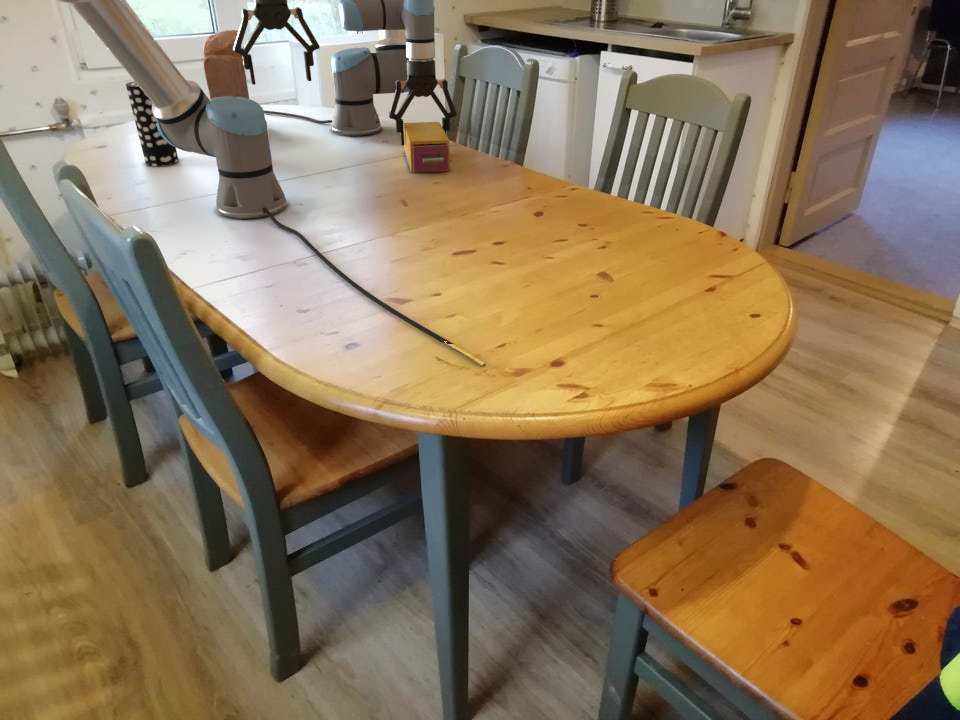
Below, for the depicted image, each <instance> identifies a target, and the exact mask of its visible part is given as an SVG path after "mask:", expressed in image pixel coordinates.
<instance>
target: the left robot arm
mask: <svg viewBox="0 0 960 720" xmlns="http://www.w3.org/2000/svg"><path fill="white" fill-rule="evenodd" d="M56 1H57V2H60V3H61V2H62V3H67V4H69V5H71V6H72V8H73V9H74V10H75V11H76V13H77V14H78V15H79V16H80V17H81V18H82V20H83V21H84V22H85V23H86V25H87V26H88V27H89V28H90V30H91V31H92V32H93V33H94V34H95V36H96V37H97V38H98V39H99V40H100V42H102V44H103V45H104V46H105V47H106V49H107V50H108V51H109V52H110V53H111V55H112V56H113V57H114V58H115V59H116V60H117V62H118V63H119V64H120V65H121V67H122V68H123V69H124V70H125V71H126V72H127V74H128V75H129V76H130V78H131V79H132V80H133V82H134V81H135V82H136V83H137V84H138V86H139V87H140V88H141V89H142V90H143V92H144V93H145V94H146V95H147V96H148V98H149V99H150V100H151V101H152V102H153V105H152V113H153V114H154V116H155V119H157V123H156V126H157V129H158V131H159V133H160V134H161V136H162V137H163V138H164V140H165V141H167V142H168V143H169V144H170V145H172V146H174V147H176V149H178V150H181V151H184V152H187V153H194V154H198V155H204V156H208V157H212V158H215V160H216V166H217V169H218V170H217V172H218V185H217V189H216V190H217V193H216V201H215V203H216V204H215V206H216V210H217V213H218V214H219V215H221V216H223V217H225V218H229V219H236V220H253V219H260V218H261V219H262V218H265V217H266V218H267V217H268V218H270V220H271V221H272V222H273V223H274V224H275V226H277V227H279V228H280V229H283V230H285V231H287V232H289V233H292V234H294V235H295V236H297V237H298V238H299V239H300V240H301V241H302V242H303V243H304V244H305V245H306V246H307V247H308V248H309V249H310V250H311V251H312V252H313V253H314V254H315V255H316V256H317V257H318V258H320V260H322V262H324V263H325V264H326V265H327V266H328V267H329V268H330V269H331V270H332V271H333V272H335V273H336V274H337V275H338V276H340V277H341V279H343V280H344V281H346V282H347V284H349V285H350V286H352V287H353V288H355V290H357V291H359V292H360V293H361V294H363V295H364V296H366V297H367V298H368V299H370V300H371V301H373V302H374V303H376V304H377V305H378V306H380V307H381V308H383V309H385V310H386V311H388V312H390V313H391V314H393V315H394V316H396V317H397V318H399V319H401V320H402V321H405V322H406V323H407V324H409V325H411V326H412V327H414V328H416V329H418V330H420V331H421V332H423V333H425V334H427V335H428V336H430V337H431V338H433V339H435V340H437V341H438V342H440V343H442V344H444V343H445V342H444V341H447V342H446V343H447V344H454V343H453V342H452V341H450V340H448V339H446V338H445V337H442V336H441V335H439V334H438V333H436V332H434V331H432V330H430V329H429V328H427V327H425V326H423V325H421V324H420V323H419V322H416V321H415V320H413V319H411V318H410V317H408V316H407V315H405V314H403V313H401V312H400V311H398V310H396V309H395V308H393V307H391V306H390V305H388V304H387V303H385V302H384V301H382V300H380V299H379V298H378V297H376V296H375V295H373V294H371V293H370V292H368V291H367V290H366V289H365V288H363V287H362V286H360V285H359V284H357V283H356V282H355V281H353V280H352V279H351V278H350V277H349V276H348V275H346V274H345V273H344V272H343V271H341V270H340V269H339V268H338V267H336V266H335V265H334V264H333V263H332V262H331V261H330V260H329V259H328V258H327V257H325V256H324V255H323V254H322V253H321V252H320V251H319V250H318V249H317V248H316V247H315V246H314V245H313V244H311V242H309V240H308V239H307V237H305V236H304V235H303V234H301V233H300V232H299V231H297V230H296V229H293V228H291V227H288V226H286V225H284V224H282V223H281V222H279V220H277V219H276V217H274V215H276V214H278V213H280V212H282V211H283V210H285V209H286V207H287V199H286V194H285V193H284V191H283V189H282V187H281V184H280V182H279V180H278V179H277V177H276V175H275V172H274V167H273V160H272V152H271V145H270V138H269V130H268V121H267V119H266V116H265V113H264V111H263V110H264V109H263V107H262V106H261V105H260V103H259V102H257V101H255V100H253V99H250V98H249V99H247V98H243V97H233V96H223V97H216V98H213V99H210V97H208V95H207V94H206V93H205V91H204V90H203V89H202V88H201V87H200V85H199V83H197V82H196V81H194V80H189V79H186V78H185V77H184V75H183V74H182V73H181V72H180V70H179V69H178V68H177V66H176V65H175V64H174V62H173V61H172V60H171V59H170V57H169V56H168V54H167V52H165V50H164V49H163V48H162V46H161V45H160V43H159V42H158V41H157V40H156V39H155V37H154V36H153V34H152V33H151V32H150V30H149V29H148V28H147V27H146V25H145V24H144V22H143V21H142V19H140V17H139V16H138V15H137V13H136V12H135V10H134V9H133V8H132V6H130V4H129V3H128V1H127V0H56ZM253 3H254V9H246V8H242V9H241V21H240V25H239V28H238V30H237V31H238V34H237V37H236V41H235V44H234V47H233V50H234V51H235V53H239V54H241V55H242V57H243V63H244V67H245V71H247V70H249V77H250V83H251V85H252V86H253V85H256V84H257V83H256V78H255V72H254V71H255V70H254V66H253V65H254V64H253V59H252V55H251V53H250V52H251V50H252V48H253V47H254V45H255V43H256V42H257V40H258V39H259V37H260V35H261V33H263V32H264V30H265V29H266V30H268V31H272V30H282V29H284V28H285V29H286V30H287V31H288V32H289V33H290V34H291V35H292V36H293V37H294V38H295V39H296V41H297V42H299V44H300V45H302V47H303V48H304V50H305V51H303V59H304V68H305V75H306V80H307V81H308V82H312V73H311V67H314V65H315V62H314V61H315V60H314V52H315V51H316V50H320V47H321V46H320V44H319V42H318V41H317V39H316V37H315V36H314V34H313V32H312V30H311V29H310V27H309V25H308V24H307V23H308V22H306V20H305V18H304V13H303V10H302V8H300V7H298V6H296V7H295V8H290V7H289V4H288V0H253ZM291 15H292V16H293V17H294V18H295V19H297V20H298V22H299V25H300V26H301V28H302V30H303V31H304V33H305V34H306V36H307V38H308V40H309V42H310V44H309V43H308V42H307V41H306V40H305V39H304V38H303V37H302V36H301V35H300V34H299V32H297V30H296V29H295V28H294V27H293V26H292V24H291V23H289V22H288V21H289V19H290V17H291ZM253 16H254V17H255V19H256V20H257V21H258V23H256V26H255V27H254V30H253V31H252V32H251V34H250V36H249V38H248V39H247V41H246V42H245V44H244V45H243V47H242V44H243V41H244V37H245V35H246V31H247V29H248V24H249V21H251V20H252V18H253ZM241 47H242V48H241Z"/></svg>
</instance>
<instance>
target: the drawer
mask: <svg viewBox="0 0 960 720" xmlns="http://www.w3.org/2000/svg"><path fill="white" fill-rule="evenodd" d="M413 161H414V171H431V170H448V145H444V144H418V145H414V146H413Z"/></svg>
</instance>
